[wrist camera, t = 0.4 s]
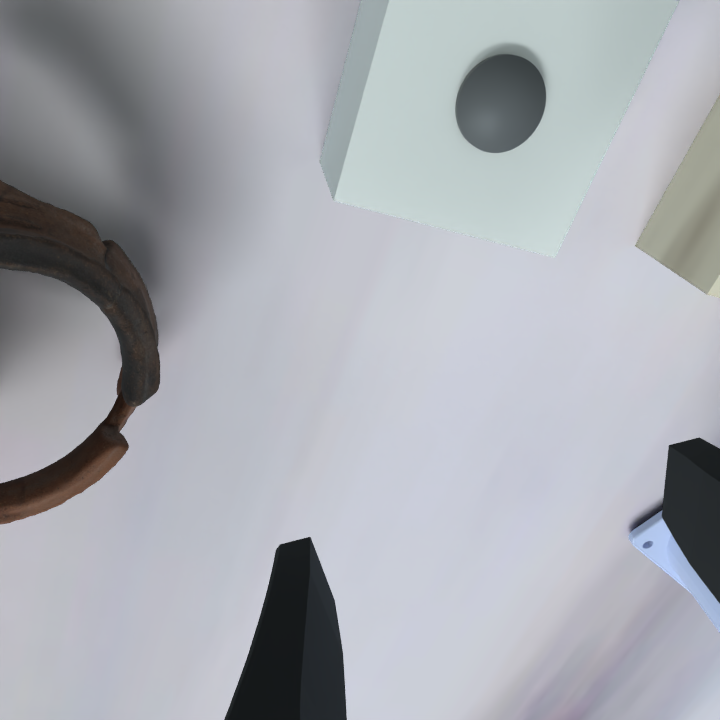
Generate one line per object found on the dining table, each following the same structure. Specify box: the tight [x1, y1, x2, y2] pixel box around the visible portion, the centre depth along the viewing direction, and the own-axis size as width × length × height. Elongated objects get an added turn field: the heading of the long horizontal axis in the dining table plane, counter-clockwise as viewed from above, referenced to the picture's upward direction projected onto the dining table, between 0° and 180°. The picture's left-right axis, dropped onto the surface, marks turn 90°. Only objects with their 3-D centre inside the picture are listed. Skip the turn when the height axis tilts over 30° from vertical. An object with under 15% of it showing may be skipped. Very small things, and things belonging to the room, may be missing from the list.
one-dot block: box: [320, 0, 679, 258], centre depth 15 cm, size 6×6×4 cm
